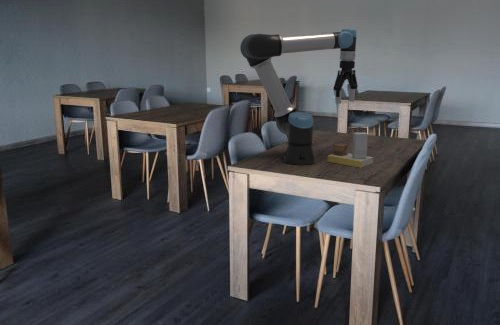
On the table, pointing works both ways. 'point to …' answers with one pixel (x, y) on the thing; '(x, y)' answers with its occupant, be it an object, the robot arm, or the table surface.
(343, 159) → the dock
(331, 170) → the table surface
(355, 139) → the skincare box
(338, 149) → the brown wooden cube
